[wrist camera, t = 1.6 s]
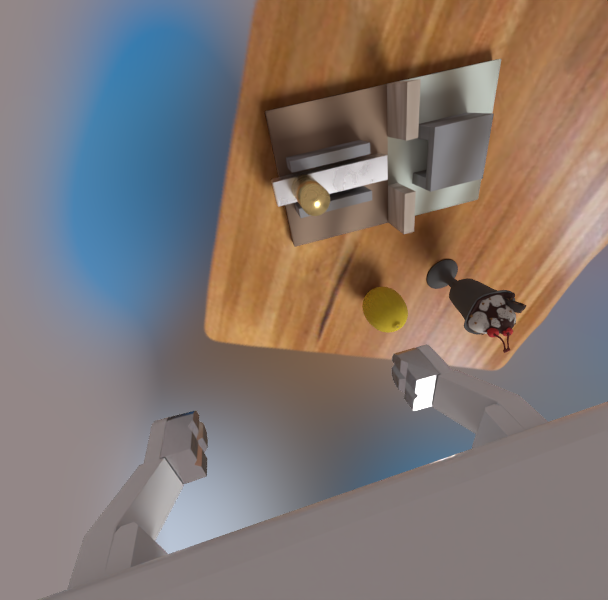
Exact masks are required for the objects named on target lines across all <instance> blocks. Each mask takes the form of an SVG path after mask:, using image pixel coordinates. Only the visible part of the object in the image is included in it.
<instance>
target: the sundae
mask: <svg viewBox="0 0 608 600" xmlns="http://www.w3.org/2000/svg"><path fill="white" fill-rule="evenodd" d="M457 271H458V266H457V264H456V262H455V261H453V260H443V261H440V262H438V263H437V264H435V265H434V266H433V267H432V268H431V270H430V271H429V273H428V276H427V283H428V285H429V286H430V287H431V288H435V289H438V288H443V287H445V286H447V285H449V286H450V287H451V289H450V294H449V298H450V300H451V301H452V303H453V305H454V306H455V307H456V308H457V310H458V311H459V312H460V313H461V314H462V316H463V317H464V319H465V323H464V328H465V329H466V330H467V331H468V332H470V333H473V334H482V335H483V334H488V335H489V336H490V337H498V338H500V339H501V341H502V342H503V344H504V350H503V352H504V353H505V352H508V351H510V349H509V343H508V340H509V336H510V335H511V334H512V333H513V330H512V328H513V326H514V325H515V324H516V323H515V322H516V314H515V312H517V313H521V312H522V311H523V310H524V309H525V307H526V305H524V304H522V303H519V302H516V301H515V298H514V297H515V294H514V293H512V292H511V291H507V290H501V291H497V290H494V289H492V288H490V287H488V286H486V285H484V284H482V283H480V282H478V281H475V280H473V279H462V280H459V281H457V280H455V279H454V278H455V277H456V274H457ZM499 333H501V334H503V335H504V336H507V344H508V348H507V349H506V348H505V343H504V341H503V340H502V338H501V337H499V336H498V335H499Z"/></svg>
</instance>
